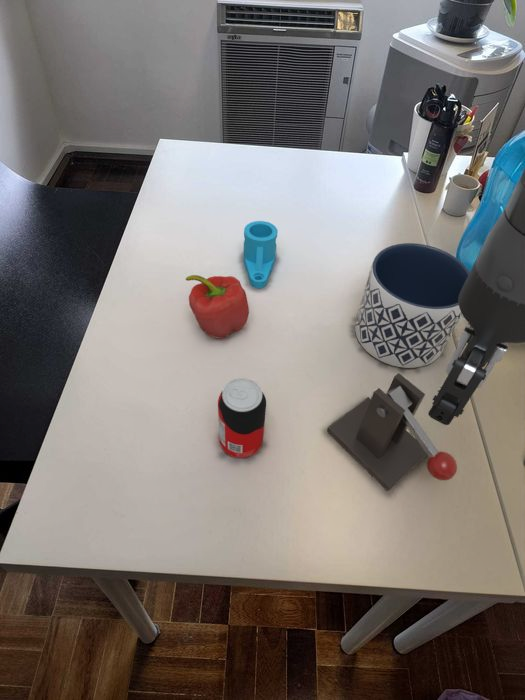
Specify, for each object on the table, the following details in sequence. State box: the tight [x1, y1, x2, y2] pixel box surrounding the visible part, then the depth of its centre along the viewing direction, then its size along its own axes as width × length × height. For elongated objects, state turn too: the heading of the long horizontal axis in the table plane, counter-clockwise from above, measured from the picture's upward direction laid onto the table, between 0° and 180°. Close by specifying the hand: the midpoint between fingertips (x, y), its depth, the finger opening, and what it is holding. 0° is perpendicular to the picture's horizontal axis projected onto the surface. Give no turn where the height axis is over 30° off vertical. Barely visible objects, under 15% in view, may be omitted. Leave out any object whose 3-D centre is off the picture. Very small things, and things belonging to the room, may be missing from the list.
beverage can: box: [217, 377, 267, 459], centre depth 64 cm, size 6×6×12 cm
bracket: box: [242, 220, 278, 289], centre depth 92 cm, size 6×12×7 cm, turn 179°
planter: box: [354, 242, 471, 369], centre depth 79 cm, size 16×16×14 cm
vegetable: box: [185, 274, 250, 339], centre depth 80 cm, size 11×10×10 cm
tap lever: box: [385, 386, 458, 481], centre depth 61 cm, size 13×4×4 cm, turn 39°
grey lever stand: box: [326, 372, 428, 492], centre depth 65 cm, size 12×9×13 cm
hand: (453, 391), depth 50 cm, fingers open, 8 cm apart
